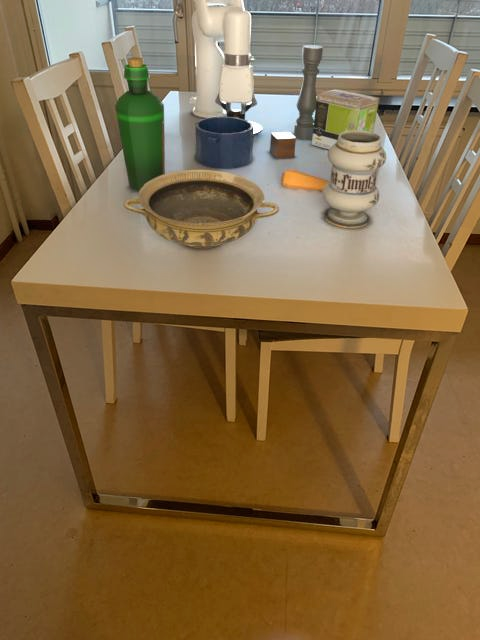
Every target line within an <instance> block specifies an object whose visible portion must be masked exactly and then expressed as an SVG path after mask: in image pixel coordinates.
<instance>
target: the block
mask: <svg viewBox="0 0 480 640" xmlns="http://www.w3.org/2000/svg"><path fill="white" fill-rule="evenodd" d="M269 143H270V144H269V153H270V154H271V155H272V156H273V158H275V159H276V160H281V159H293V158H295V153H296V144H297V138H296V137H294V134H292V133H291V132H290V131H283V132H282V131H281V132H271V133H270V142H269Z"/></svg>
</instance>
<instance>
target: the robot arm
mask: <svg viewBox="0 0 480 640" xmlns="http://www.w3.org/2000/svg"><path fill="white" fill-rule="evenodd" d="M193 2H194V8H195V10H194V11H193V13H192V16H191V30H192V36H193V41H194V43H193V44H194V56H195V87H196V88H195V89H196V90H195V92H196V93H195V94H196V96H191V97H190V99H189V101H188V102H189V104H191V105H194V107H193V108H192V114H193V115H194V116H196V117H198V118H203V119H205V118H211V117H231V116H232V103H235V104H240V107H241V109H240V110H241V113H240V119H244V120H246V113H247V112H248V111H249V110H250V109H251V108H253V107H256V106H257V105H258V99H257V98H256V95H255V93H254V91H255V86H254V79H255V78H254V68H253V64H251V63H255V62H256V56H252V54H251V41H252V40H251V38H252V35H251V34H252V14H251V12H250V11H248V10H245V5H244V4H245V3H244V0H193ZM221 42H223V51H222V49H221V48H220V47H219V45H218V43H221Z"/></svg>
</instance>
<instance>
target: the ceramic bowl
mask: <svg viewBox="0 0 480 640" xmlns="http://www.w3.org/2000/svg"><path fill="white" fill-rule="evenodd" d="M264 201H265V194H264V192H263V190H262V188H261V187H260V186H259V185H258V184H257V183H256V182H253V181H252V180H250V179H248V178H246V177H243V176H241V175H238V174H235V173H231V172H226V171H222V170H221V171H220V170H213V169H186V170H177V171H172V172H168V173H165V174H164V175H161V176H158V177H156V178H154V179H152V180H150V181H149V182H147V183H146V184H144V186H143V187H142V188H141V189H140V191H139V192H138V194H137V198H129V199H125V200H124V201H123V206H124V209H126V210H127V211H130V212H132V213H137V214H139V215H142V216H144V217H145V219H146V222H147V223H148V225H149V227H150V228H151V229H152V230H153V231H154V232H155V233H156V234H158V235H159V236H161V237H162V238H163V239H166V240H167V241H171V242H173V243H176V244H179V245H184V246H189V247H191V248H195V249H208V248H209V249H210V248H214V247H216V246H220V245H224V244H228V243H230V242H233V241H235V240H238V239H240V238H242V237H243V236H244V235H246V234H247V233H249V232H250V231H251V229H252V228H253V227H254V225H255V224H256V222H257V221H258V220H259V219H265V218H271V217H273V216H275V215H277V213H278V212H279V211H280V207H279V205H278V204H277V203H274V202H264ZM132 205H141V207H142V208H138V207H135V206H132ZM260 208H269V209H270V208H271V209H272V210H270V211H267V212H258V210H259V209H260Z"/></svg>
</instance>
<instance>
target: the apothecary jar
mask: <svg viewBox="0 0 480 640" xmlns="http://www.w3.org/2000/svg"><path fill="white" fill-rule="evenodd" d="M327 158H328V161H329V162H330V164H331V172H330V177H329V181H330V182H328V183H327V184H326V185H325V187H324V188H323V191H322V198H323V200H324V201H325V203H326V204H327V205H329V206H330V207H331V208H328V209H327V210H326V211H325V212H324V215H325V216H324V219H325V221H326V222H328V223H329V224H331V225H333V226H336V227H339V228H343V229H359V228H362V227H364V226H366V225H368V224H369V221H370V217H369V215H368V214H367V212H365V211H367V210H369V209H371V208H373V207H374V206H376V205H377V203H378V202H379V200H380V191H379V189H378V188H377V186H376V184H377V178H378V177H377V176H378V170H379V169H380V168H381V167H382V166H384V164H386V161H387V153H386V150H385V149H384V148H383V146H382V138H381V136H380V135H379V134H377V133H375V132H373V133H372V132H367V131H360V130H351V131H345V132H342V133H340V135H339V137H338V140H337V142H336V143H335V144H333V145H332V146H331V147H330V149H328V151H327Z"/></svg>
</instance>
